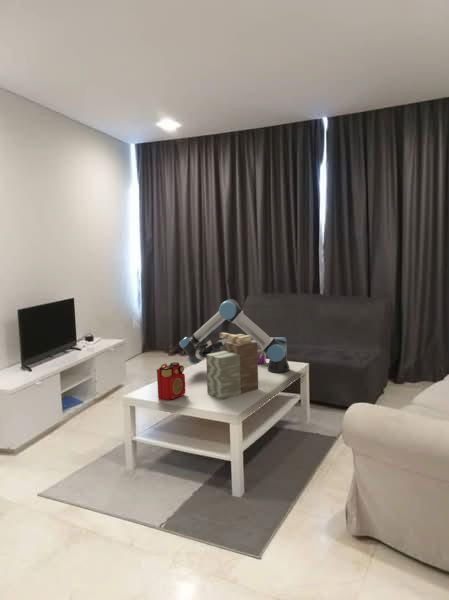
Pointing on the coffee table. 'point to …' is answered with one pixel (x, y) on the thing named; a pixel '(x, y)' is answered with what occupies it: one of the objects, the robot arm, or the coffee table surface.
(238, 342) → the light wooden block
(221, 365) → the stand
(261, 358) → the candy bar box
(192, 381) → the coffee table surface
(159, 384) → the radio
